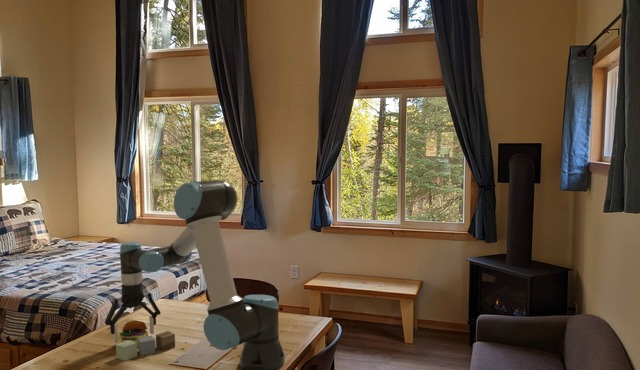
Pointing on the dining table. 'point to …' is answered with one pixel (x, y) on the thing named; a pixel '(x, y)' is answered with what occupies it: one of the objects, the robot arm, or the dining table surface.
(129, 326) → the cheeseburger
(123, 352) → the sage block
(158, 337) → the walnut block
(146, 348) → the slate block
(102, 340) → the dining table surface
